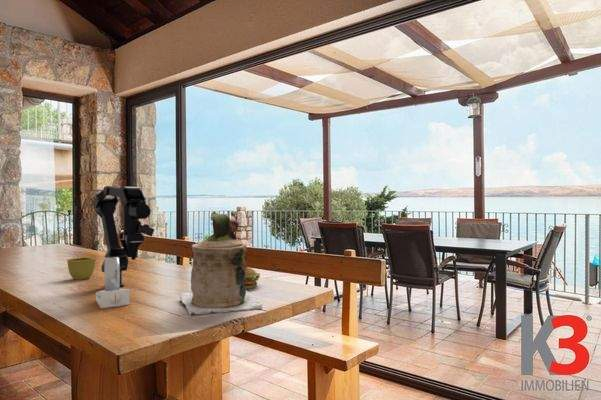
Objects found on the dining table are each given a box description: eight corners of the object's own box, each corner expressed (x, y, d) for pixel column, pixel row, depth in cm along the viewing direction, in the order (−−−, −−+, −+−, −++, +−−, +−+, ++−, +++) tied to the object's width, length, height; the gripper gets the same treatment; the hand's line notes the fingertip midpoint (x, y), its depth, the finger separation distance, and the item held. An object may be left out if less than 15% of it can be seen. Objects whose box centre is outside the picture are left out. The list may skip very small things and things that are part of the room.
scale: (93, 300, 148) (93, 286, 148) (125, 297, 154) (125, 283, 154) (98, 308, 138) (98, 293, 138) (131, 304, 143) (131, 289, 143)
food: (251, 291, 163) (251, 271, 163) (220, 288, 168) (220, 269, 168) (266, 284, 176) (266, 266, 176) (237, 282, 181) (237, 264, 181)
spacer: (107, 290, 149) (107, 256, 149) (121, 290, 149) (121, 256, 149) (102, 293, 144) (102, 258, 144) (116, 293, 144) (116, 258, 144)
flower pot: (96, 278, 191) (96, 258, 191) (77, 281, 184) (77, 261, 184) (85, 276, 196) (85, 257, 196) (66, 279, 188) (66, 259, 188)
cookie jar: (188, 317, 128) (188, 213, 128) (178, 299, 150) (178, 211, 150) (265, 308, 138) (264, 212, 137) (245, 293, 160) (244, 210, 160)
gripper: (158, 218, 159) (158, 259, 159) (147, 217, 175) (147, 254, 175) (126, 219, 153) (127, 261, 153) (118, 218, 169) (119, 256, 169)
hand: (131, 258), depth 163 cm, fingers open, 9 cm apart
